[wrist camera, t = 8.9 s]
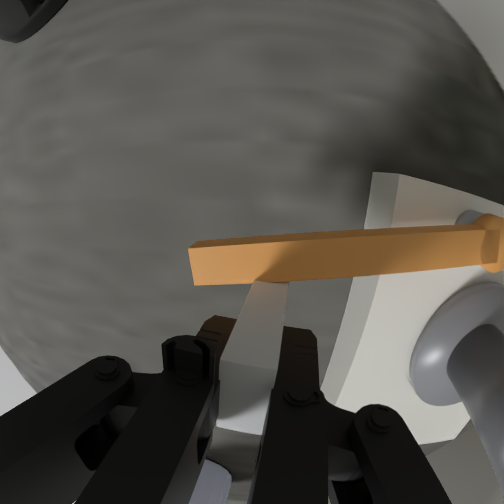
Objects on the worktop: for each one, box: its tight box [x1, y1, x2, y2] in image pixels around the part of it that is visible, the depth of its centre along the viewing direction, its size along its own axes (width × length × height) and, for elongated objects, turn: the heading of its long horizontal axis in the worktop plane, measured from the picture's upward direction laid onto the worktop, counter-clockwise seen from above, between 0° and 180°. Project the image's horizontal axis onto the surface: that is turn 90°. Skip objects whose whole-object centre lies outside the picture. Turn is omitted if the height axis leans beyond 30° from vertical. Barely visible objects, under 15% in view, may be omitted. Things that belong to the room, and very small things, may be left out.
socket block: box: [320, 172, 504, 445], centre depth 16 cm, size 20×14×6 cm
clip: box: [188, 213, 504, 285], centre depth 11 cm, size 15×3×1 cm, turn 96°
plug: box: [409, 282, 504, 503], centre depth 10 cm, size 9×9×17 cm
